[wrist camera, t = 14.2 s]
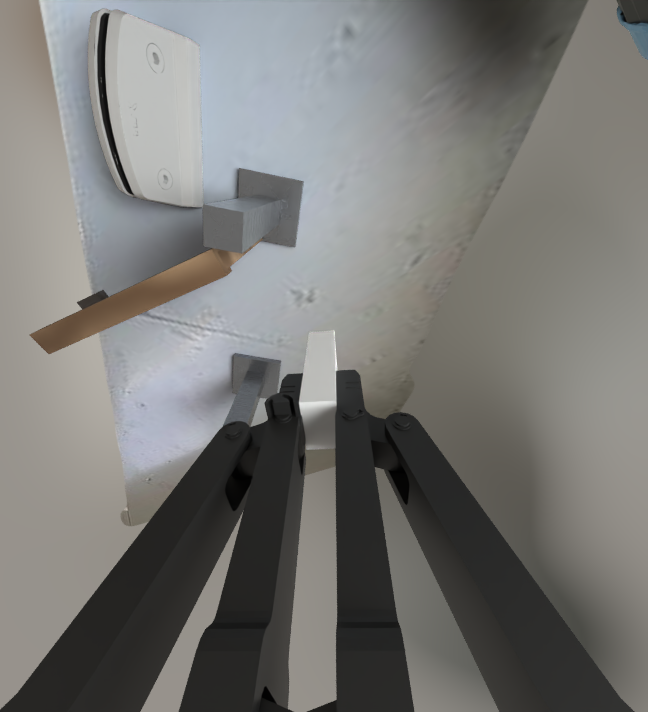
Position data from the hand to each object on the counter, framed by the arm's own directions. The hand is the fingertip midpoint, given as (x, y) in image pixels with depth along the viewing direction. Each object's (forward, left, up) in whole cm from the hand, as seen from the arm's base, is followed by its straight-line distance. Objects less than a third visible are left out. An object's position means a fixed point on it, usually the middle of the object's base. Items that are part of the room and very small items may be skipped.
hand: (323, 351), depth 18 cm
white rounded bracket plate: (+18, -16, -29) cm, 38 cm away
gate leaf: (+19, -1, -27) cm, 33 cm away
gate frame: (+11, +7, -28) cm, 31 cm away
